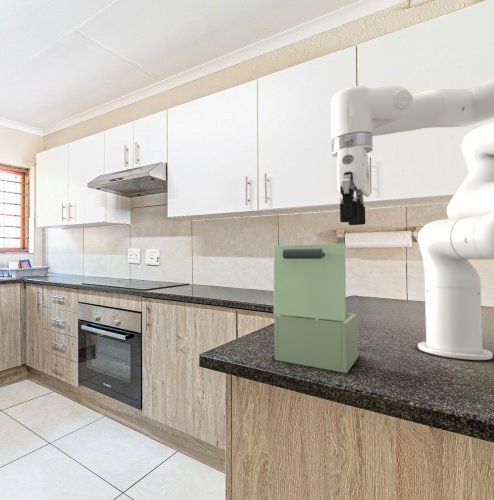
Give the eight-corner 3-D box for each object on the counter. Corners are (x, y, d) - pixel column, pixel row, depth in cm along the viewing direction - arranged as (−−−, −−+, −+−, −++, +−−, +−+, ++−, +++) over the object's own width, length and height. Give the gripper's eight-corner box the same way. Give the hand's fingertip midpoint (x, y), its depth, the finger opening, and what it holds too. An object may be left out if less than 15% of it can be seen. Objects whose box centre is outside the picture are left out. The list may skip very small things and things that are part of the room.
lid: (274, 245, 79) (266, 243, 75) (345, 243, 70) (339, 241, 66) (274, 313, 78) (266, 315, 74) (346, 321, 69) (340, 323, 65)
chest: (294, 347, 88) (293, 308, 88) (358, 356, 79) (357, 313, 79) (274, 360, 77) (274, 316, 78) (346, 373, 68) (345, 323, 68)
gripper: (366, 132, 68) (368, 219, 67) (377, 151, 81) (378, 224, 80) (323, 140, 73) (324, 222, 72) (339, 157, 86) (341, 226, 85)
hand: (353, 223), depth 76 cm, fingers open, 9 cm apart
